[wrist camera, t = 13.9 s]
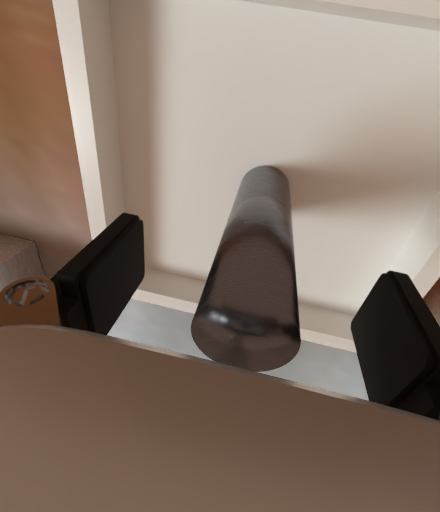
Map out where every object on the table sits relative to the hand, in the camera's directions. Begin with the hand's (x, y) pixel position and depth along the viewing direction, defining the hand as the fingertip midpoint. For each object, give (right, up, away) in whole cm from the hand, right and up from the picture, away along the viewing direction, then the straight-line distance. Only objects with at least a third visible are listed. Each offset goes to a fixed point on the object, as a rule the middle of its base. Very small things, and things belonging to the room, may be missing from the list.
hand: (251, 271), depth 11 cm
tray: (+2, +5, +8) cm, 9 cm away
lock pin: (+2, +5, +7) cm, 9 cm away
